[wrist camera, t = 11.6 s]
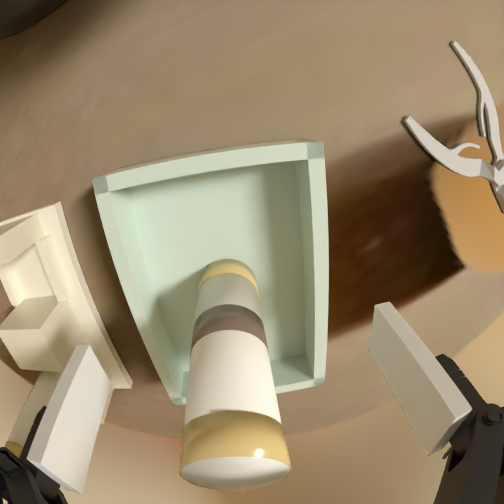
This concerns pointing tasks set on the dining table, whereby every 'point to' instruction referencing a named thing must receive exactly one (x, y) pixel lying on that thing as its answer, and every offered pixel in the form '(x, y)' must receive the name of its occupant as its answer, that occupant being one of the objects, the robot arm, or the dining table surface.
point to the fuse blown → (231, 388)
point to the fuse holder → (50, 298)
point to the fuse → (32, 409)
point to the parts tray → (224, 249)
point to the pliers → (500, 168)
